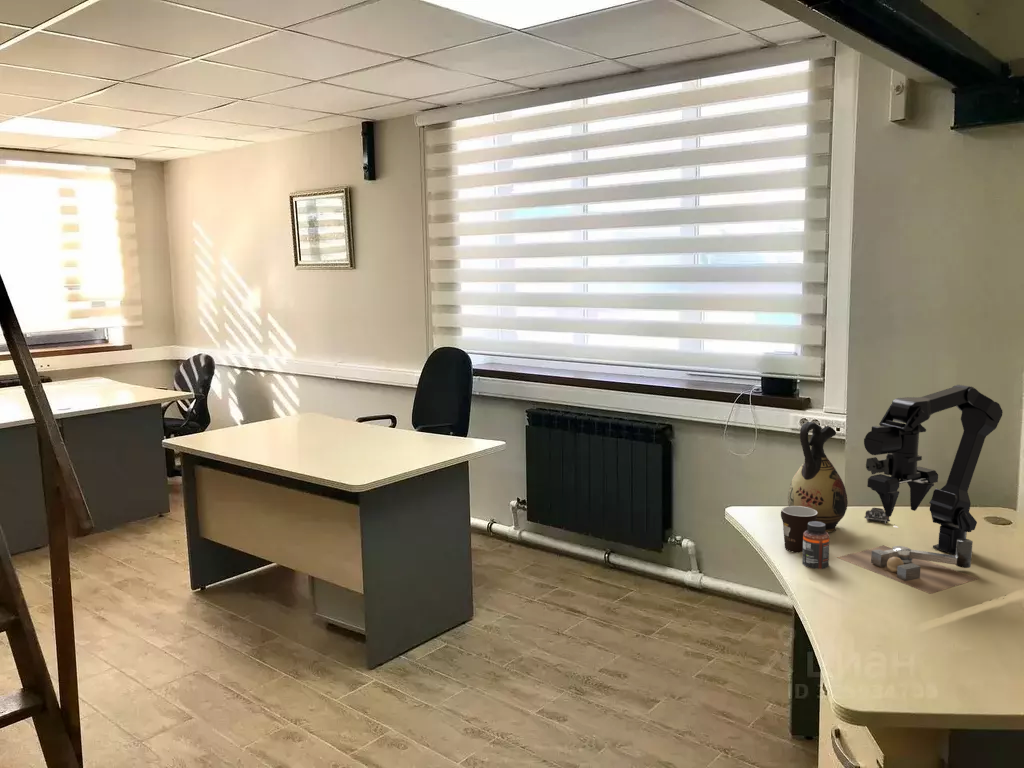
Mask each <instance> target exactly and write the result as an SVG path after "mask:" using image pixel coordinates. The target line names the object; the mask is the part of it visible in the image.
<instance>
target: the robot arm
mask: <svg viewBox="0 0 1024 768" xmlns="http://www.w3.org/2000/svg"><path fill="white" fill-rule="evenodd" d="M951 408H957V409H958V410H959V411H960V412H961V415H960V421H961V426H962V429H963V432H962V436H961V438H960V441H959V444H958V448H957V449H956V453H955V455H954V460H953V463H952V465H951V467H950V471H949V473H948V474H949V475H948V476H947V480H946V483H945V485H943V486H942V487H941V488H940V489H938V488H935V489H934V490H933V492H932V497H931V499H930V501H929V511H930V514H931V519H932V523H934V524H938V525H940V526H939V533H938V542H937V543H938V544H934V545H932V548H933V549H936V550H939V551H942V552H945V553H947V554H950V555H954V556H956V545H957V539H959V538H963V539H967V533H971V532H972V531H975V529H976V526H977V524H978V522H977V520H976V519H975V518H974V516H973V515H972V514H971V513H970V509H971V504H972V503H971V500H970V497H969V493H968V491H969V488H970V485H971V482H972V479H973V477H974V476H973V475H974V473H975V470H976V467H977V464H978V461H979V458H980V455H981V452H982V449H983V446H984V443H985V439H986V438H987V437H988V436H989V435H990V434H991V433H992V432H994V431H995V430H996V429H997V428H998V426H999V424H1000V420H1001V419H1002V417H1003V409H1002V408H1001V404H1000V403H998V401H994V399H991V398H990V397H988V396H986V395H985V394H983V393H981V392H980V390H979V391H978V390H977V388H975V387H974V386H970V385H964V384H956V385H953V386H952V387H949V388H946V389H943V390H939V391H936V392H933V393H930V394H927V395H926V394H925V395H923V396H920V397H919V396H918V397H916V396H915V397H914V396H913V397H912V396H911V397H910V396H905V397H897V398H895V399H893V400H892V402H891V403H890V405H889V407H888V409H887V410H886V412H885V414H884V415H883V417H882V418H881V420H880V422H879V424H878V425H872V426H871V431H868V433H866V435H865V437H864V438H863V445H864V448H865V450H866V452H868V454H869V455H872V456H874V457H869V458H866V464H865V469H866V470H867V472H871V476H869V477H868V478H867V483H866V484H867V488H870V489H871V491H874V492H875V493H877V494H878V497H879V498H880V502H881V504H882V507H883V508H882V509H883V510H884V512H885V514H886V516H889V518H890V517H891V516H892V514H893V512H894V509H895V506H896V503H897V501H898V497H899V495H900V491H899V488H900V485H901V484H904V483H907V484H908V486H909V490H910V491H909V493H910V494H909V496H910V497H909V500H910V501H909V502H910V503H909V504H910V510H911V511H914V512H915V511H917V509H918V508H919V506H920V505H921V504H922V501H923V500H924V499H925V497H926V495H927V494H928V493H929V491H930V490H931V489H932V487H934V486H935V483H938V482H939V474H938V473H937V471H936V470H934V469H932V468H927V467H923V466H918V462H919V461H922V459H923V457H922V455H919V444H920V433H926V432H927V429H926V427H924V426H923V425H922V423H925V422H926V421H929V419H930V418H931V415H933V414H936V413H940V412H942V411H946V410H949V409H951ZM885 454H887V455H886V456H885V458H884V459H878V458H877V456H879V455H885ZM875 456H876V457H875ZM882 473H883V474H882Z"/></svg>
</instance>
